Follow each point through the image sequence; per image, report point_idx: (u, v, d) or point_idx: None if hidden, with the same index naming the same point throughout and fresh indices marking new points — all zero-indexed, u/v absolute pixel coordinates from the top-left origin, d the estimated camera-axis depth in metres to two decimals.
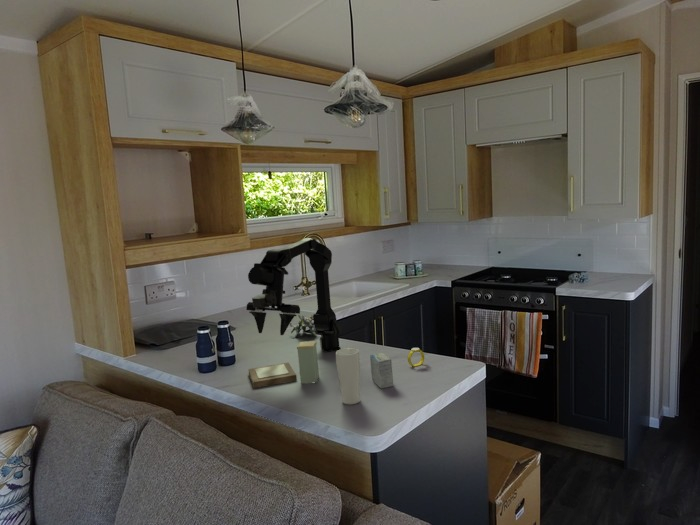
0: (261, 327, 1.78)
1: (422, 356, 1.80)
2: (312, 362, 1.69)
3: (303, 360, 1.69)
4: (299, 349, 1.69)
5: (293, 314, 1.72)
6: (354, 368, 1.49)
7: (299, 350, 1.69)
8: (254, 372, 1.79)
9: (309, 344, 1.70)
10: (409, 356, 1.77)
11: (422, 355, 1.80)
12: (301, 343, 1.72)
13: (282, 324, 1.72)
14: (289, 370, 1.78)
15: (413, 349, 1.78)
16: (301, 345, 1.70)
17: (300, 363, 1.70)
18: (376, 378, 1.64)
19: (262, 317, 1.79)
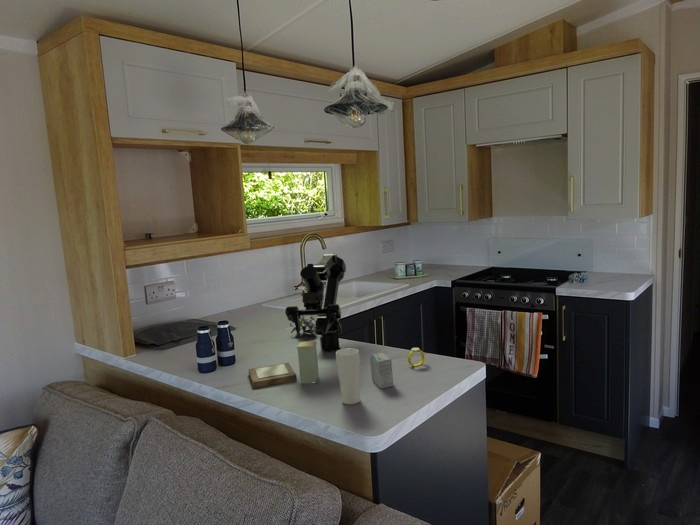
0: (299, 330, 1.80)
1: (422, 356, 1.80)
2: (312, 362, 1.69)
3: (303, 360, 1.69)
4: (299, 349, 1.69)
5: (336, 316, 1.82)
6: (354, 368, 1.49)
7: (299, 350, 1.69)
8: (254, 372, 1.79)
9: (309, 344, 1.70)
10: (409, 356, 1.77)
11: (422, 355, 1.80)
12: (301, 343, 1.72)
13: (327, 322, 1.79)
14: (289, 370, 1.78)
15: (413, 349, 1.78)
16: (301, 345, 1.70)
17: (300, 363, 1.70)
18: (376, 378, 1.64)
19: (299, 323, 1.83)
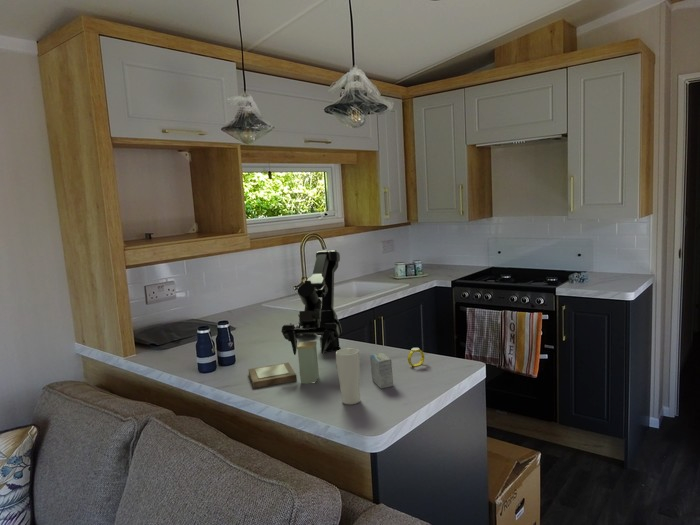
0: (295, 349, 1.74)
1: (422, 356, 1.80)
2: (312, 362, 1.69)
3: (303, 360, 1.69)
4: (299, 349, 1.69)
5: (334, 335, 1.76)
6: (354, 368, 1.49)
7: (299, 350, 1.69)
8: (254, 372, 1.79)
9: (309, 344, 1.70)
10: (409, 356, 1.77)
11: (422, 355, 1.80)
12: (301, 343, 1.72)
13: (324, 342, 1.73)
14: (289, 370, 1.78)
15: (413, 349, 1.78)
16: (301, 345, 1.70)
17: (300, 363, 1.70)
18: (376, 378, 1.64)
19: (296, 341, 1.77)
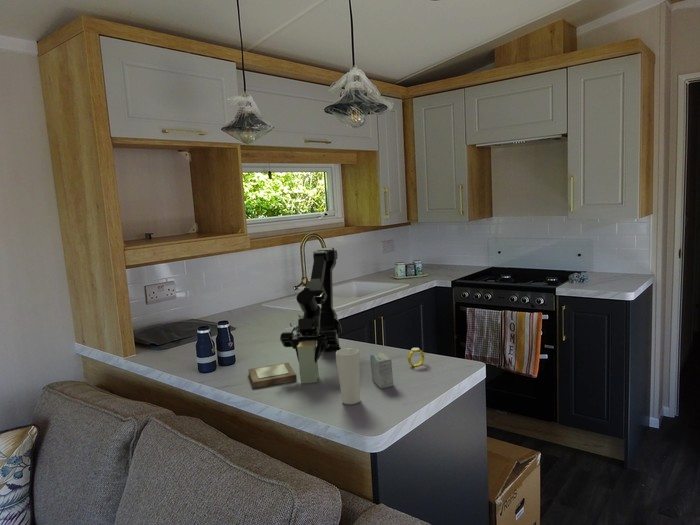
0: None
1: (422, 356, 1.80)
2: (312, 362, 1.69)
3: (303, 359, 1.69)
4: (299, 349, 1.69)
5: (327, 343, 1.74)
6: (354, 368, 1.49)
7: (299, 350, 1.69)
8: (254, 372, 1.79)
9: (309, 344, 1.70)
10: (409, 356, 1.77)
11: (422, 355, 1.80)
12: (301, 343, 1.72)
13: (318, 350, 1.71)
14: (289, 370, 1.78)
15: (413, 349, 1.78)
16: (301, 345, 1.70)
17: (300, 363, 1.70)
18: (376, 378, 1.64)
19: None
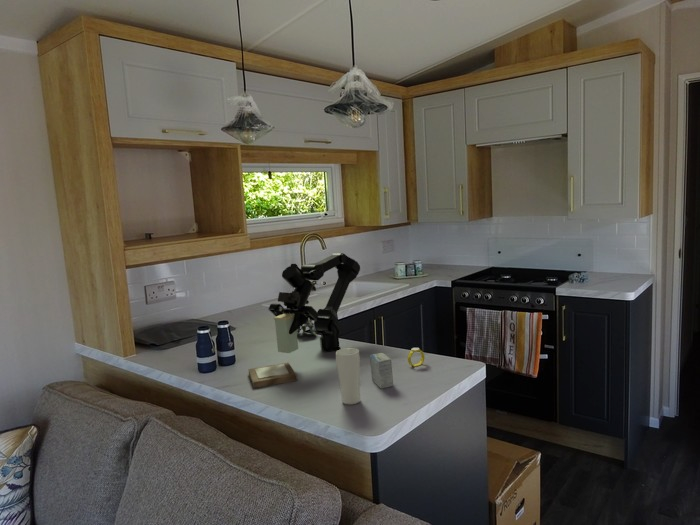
0: None
1: (422, 356, 1.80)
2: (285, 333, 1.80)
3: (279, 330, 1.82)
4: (276, 320, 1.82)
5: (306, 318, 1.83)
6: (354, 368, 1.49)
7: (276, 321, 1.82)
8: (254, 372, 1.79)
9: (285, 316, 1.82)
10: (409, 356, 1.77)
11: (422, 355, 1.80)
12: (281, 315, 1.84)
13: (293, 323, 1.81)
14: (289, 370, 1.78)
15: (413, 349, 1.78)
16: (278, 316, 1.82)
17: (277, 333, 1.83)
18: (376, 378, 1.64)
19: None
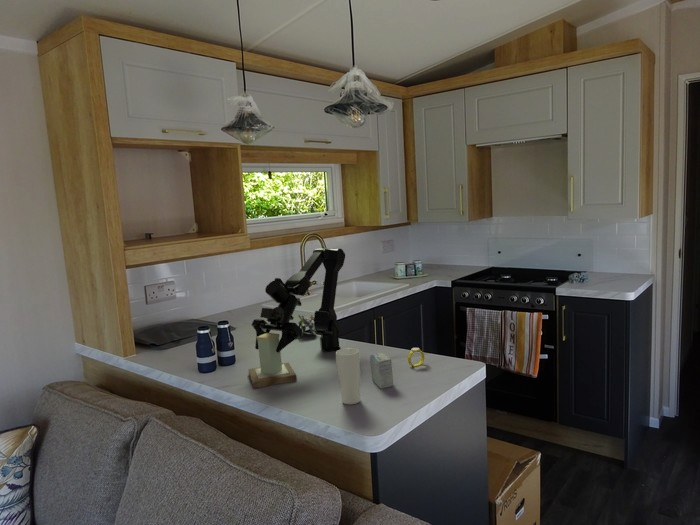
0: None
1: (422, 356, 1.80)
2: (268, 354, 1.74)
3: (261, 350, 1.75)
4: (258, 339, 1.75)
5: (294, 335, 1.75)
6: (354, 368, 1.49)
7: (258, 340, 1.75)
8: (254, 372, 1.79)
9: (268, 336, 1.75)
10: (409, 356, 1.77)
11: (422, 355, 1.80)
12: (265, 334, 1.78)
13: (281, 341, 1.74)
14: (289, 370, 1.78)
15: (413, 349, 1.78)
16: (261, 336, 1.76)
17: (260, 353, 1.76)
18: (376, 378, 1.64)
19: None
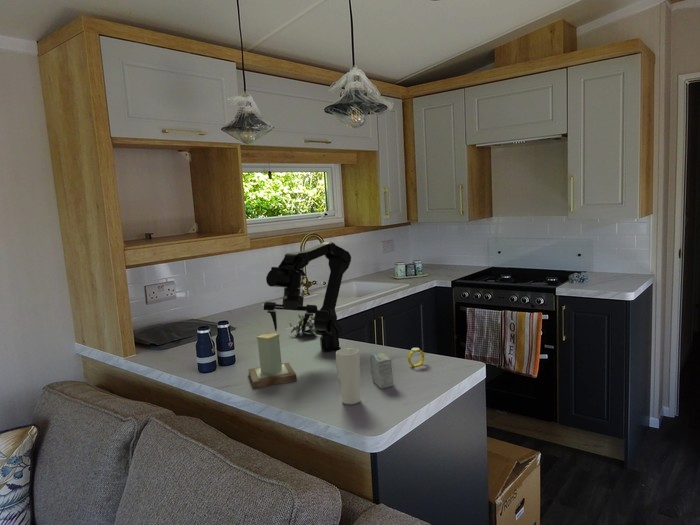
0: (276, 325, 1.88)
1: (422, 356, 1.80)
2: (268, 354, 1.74)
3: (261, 350, 1.75)
4: (258, 339, 1.75)
5: None
6: (354, 368, 1.49)
7: (258, 340, 1.75)
8: (254, 372, 1.79)
9: (268, 336, 1.75)
10: (409, 356, 1.77)
11: (422, 355, 1.80)
12: (265, 334, 1.78)
13: (305, 323, 1.87)
14: (289, 370, 1.78)
15: (413, 349, 1.78)
16: (261, 336, 1.76)
17: (260, 353, 1.76)
18: (376, 378, 1.64)
19: (276, 316, 1.88)
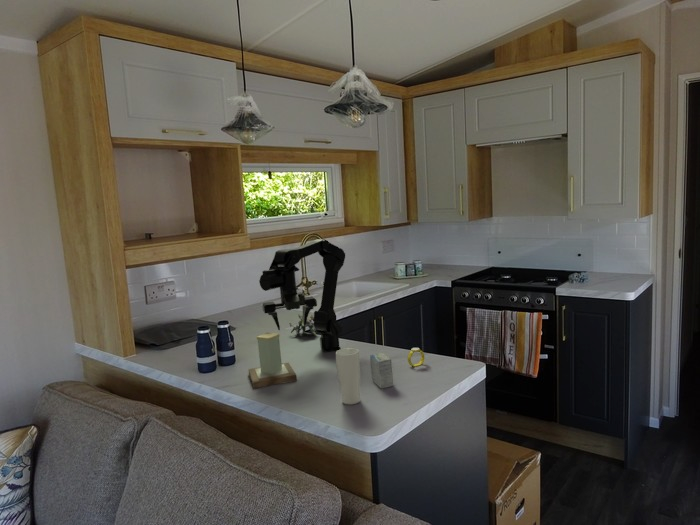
0: (278, 324, 1.88)
1: (422, 356, 1.80)
2: (268, 354, 1.74)
3: (261, 350, 1.75)
4: (258, 339, 1.75)
5: None
6: (354, 368, 1.49)
7: (258, 340, 1.75)
8: (254, 372, 1.79)
9: (268, 336, 1.75)
10: (409, 356, 1.77)
11: (422, 355, 1.80)
12: (265, 334, 1.78)
13: (306, 317, 1.90)
14: (289, 370, 1.78)
15: (413, 349, 1.78)
16: (261, 336, 1.76)
17: (260, 353, 1.76)
18: (376, 378, 1.64)
19: None
